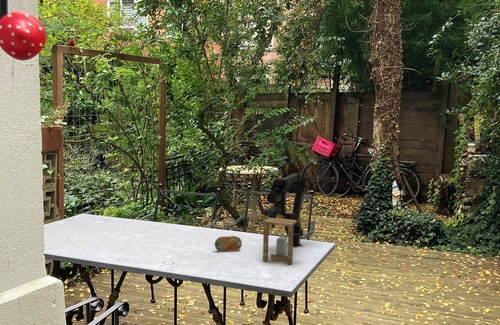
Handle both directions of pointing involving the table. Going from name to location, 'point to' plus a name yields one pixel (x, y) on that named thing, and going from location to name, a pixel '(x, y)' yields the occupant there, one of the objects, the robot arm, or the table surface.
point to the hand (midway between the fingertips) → (279, 229)
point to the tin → (228, 244)
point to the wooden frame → (290, 240)
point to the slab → (281, 246)
